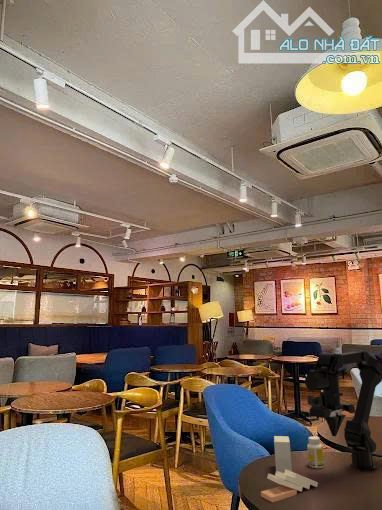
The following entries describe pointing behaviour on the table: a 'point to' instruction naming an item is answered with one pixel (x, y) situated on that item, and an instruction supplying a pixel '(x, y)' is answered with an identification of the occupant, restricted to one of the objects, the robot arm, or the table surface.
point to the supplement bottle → (315, 453)
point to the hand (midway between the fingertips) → (334, 436)
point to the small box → (282, 453)
